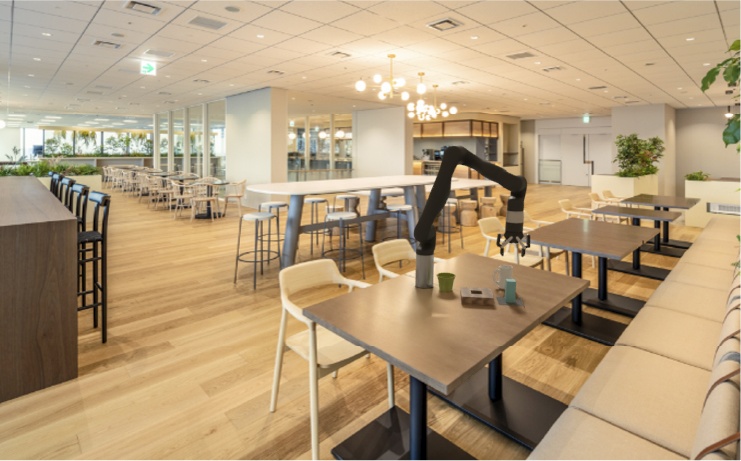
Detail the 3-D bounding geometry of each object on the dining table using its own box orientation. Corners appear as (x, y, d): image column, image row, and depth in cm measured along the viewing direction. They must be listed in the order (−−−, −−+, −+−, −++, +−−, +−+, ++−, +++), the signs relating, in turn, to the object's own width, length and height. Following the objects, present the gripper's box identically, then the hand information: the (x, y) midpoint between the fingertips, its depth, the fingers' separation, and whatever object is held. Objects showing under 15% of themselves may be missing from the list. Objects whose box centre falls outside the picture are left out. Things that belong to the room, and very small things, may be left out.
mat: (498, 306, 180) (498, 304, 179) (495, 298, 190) (495, 296, 190) (524, 308, 178) (524, 306, 177) (520, 299, 188) (520, 297, 188)
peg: (505, 302, 182) (506, 281, 180) (504, 299, 186) (505, 278, 184) (515, 302, 181) (516, 281, 180) (513, 299, 185) (514, 279, 184)
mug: (508, 286, 207) (509, 264, 205) (514, 291, 201) (515, 268, 199) (489, 287, 206) (490, 265, 204) (494, 291, 200) (495, 268, 198)
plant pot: (455, 295, 195) (455, 278, 194) (435, 294, 197) (436, 277, 196) (455, 289, 204) (455, 272, 203) (436, 288, 206) (436, 272, 205)
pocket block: (461, 305, 181) (461, 296, 180) (460, 295, 195) (460, 286, 194) (493, 307, 179) (493, 298, 178) (490, 297, 192) (490, 288, 191)
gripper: (498, 221, 175) (496, 257, 178) (533, 222, 172) (530, 259, 175) (496, 219, 182) (494, 253, 185) (529, 219, 179) (527, 255, 182)
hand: (512, 256), depth 180 cm, fingers open, 8 cm apart
